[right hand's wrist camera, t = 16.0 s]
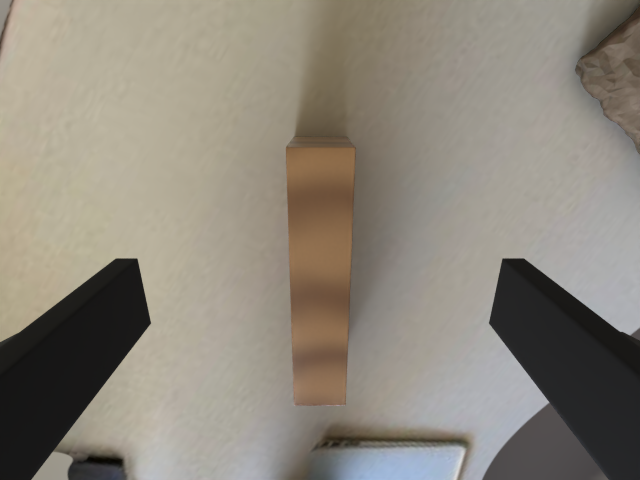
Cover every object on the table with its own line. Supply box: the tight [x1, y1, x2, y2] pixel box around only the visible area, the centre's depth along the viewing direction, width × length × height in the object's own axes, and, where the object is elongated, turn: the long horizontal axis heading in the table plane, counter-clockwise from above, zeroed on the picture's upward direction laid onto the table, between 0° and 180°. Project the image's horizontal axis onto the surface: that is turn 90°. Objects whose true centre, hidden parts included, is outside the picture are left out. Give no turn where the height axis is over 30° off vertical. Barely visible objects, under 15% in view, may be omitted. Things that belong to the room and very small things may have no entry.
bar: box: [286, 137, 356, 406], centre depth 37 cm, size 27×6×9 cm, turn 0°
